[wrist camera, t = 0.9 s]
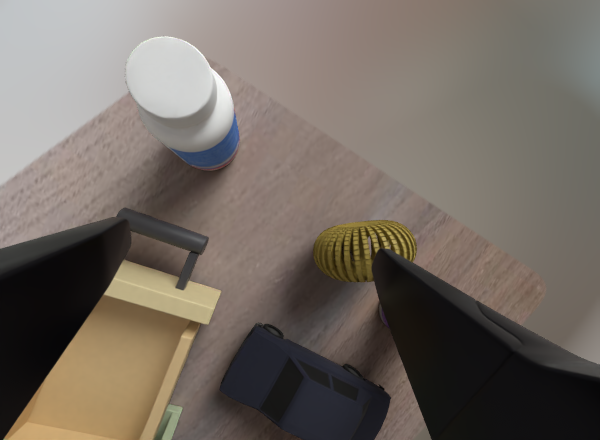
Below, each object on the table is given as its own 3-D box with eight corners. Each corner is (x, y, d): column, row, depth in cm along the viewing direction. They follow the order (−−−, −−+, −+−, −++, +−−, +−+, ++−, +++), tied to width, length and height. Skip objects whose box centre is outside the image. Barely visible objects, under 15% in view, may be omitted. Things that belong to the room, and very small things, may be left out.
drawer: (109, 197, 19) (70, 192, 15) (240, 244, 21) (237, 251, 17) (14, 416, 18) (-54, 474, 14) (160, 444, 20) (137, 502, 16)
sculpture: (379, 216, 25) (439, 217, 17) (384, 256, 25) (445, 275, 17) (301, 228, 23) (326, 235, 15) (307, 271, 23) (335, 299, 16)
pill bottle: (252, 136, 22) (252, 75, 13) (215, 184, 22) (186, 159, 12) (199, 95, 21) (156, -3, 12) (160, 144, 21) (81, 83, 11)
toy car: (254, 313, 23) (255, 340, 18) (380, 378, 25) (412, 418, 20) (220, 371, 22) (210, 416, 17) (352, 432, 25) (377, 486, 20)
